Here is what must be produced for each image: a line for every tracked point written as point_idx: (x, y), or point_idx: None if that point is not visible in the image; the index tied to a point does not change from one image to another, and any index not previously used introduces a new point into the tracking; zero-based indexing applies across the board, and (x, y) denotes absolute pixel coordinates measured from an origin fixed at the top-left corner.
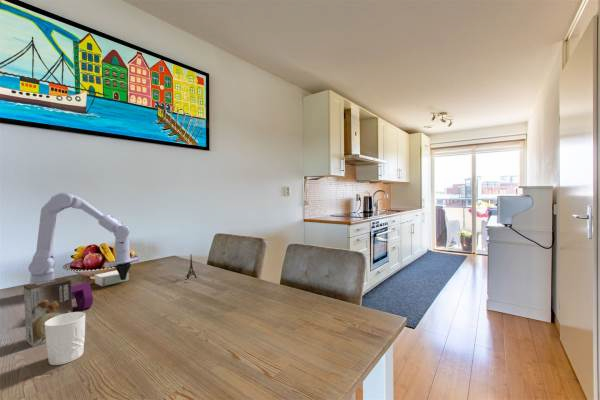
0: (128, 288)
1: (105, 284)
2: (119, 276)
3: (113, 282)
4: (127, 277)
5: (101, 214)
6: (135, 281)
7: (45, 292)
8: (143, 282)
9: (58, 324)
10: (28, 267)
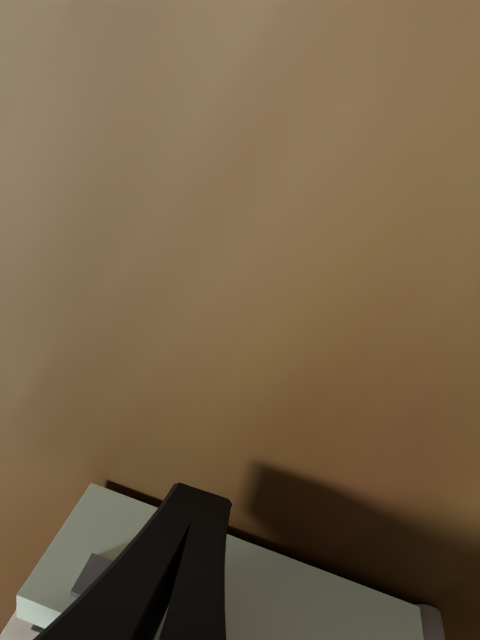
0: (449, 83)
1: (415, 622)
2: None
3: (301, 582)
4: (86, 531)
5: None
6: (65, 357)
7: None
8: (14, 149)
9: None
10: None
